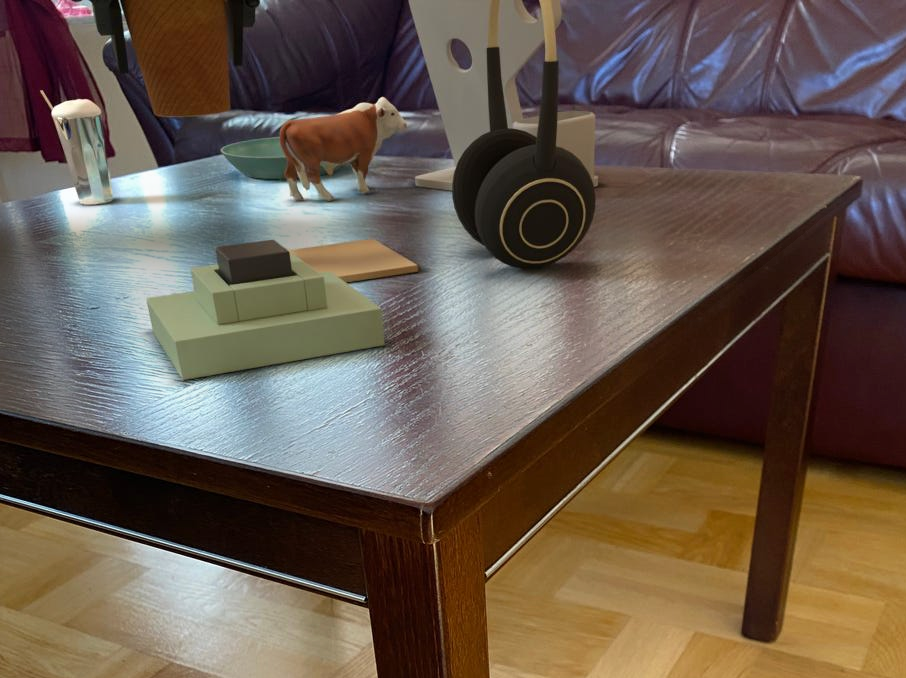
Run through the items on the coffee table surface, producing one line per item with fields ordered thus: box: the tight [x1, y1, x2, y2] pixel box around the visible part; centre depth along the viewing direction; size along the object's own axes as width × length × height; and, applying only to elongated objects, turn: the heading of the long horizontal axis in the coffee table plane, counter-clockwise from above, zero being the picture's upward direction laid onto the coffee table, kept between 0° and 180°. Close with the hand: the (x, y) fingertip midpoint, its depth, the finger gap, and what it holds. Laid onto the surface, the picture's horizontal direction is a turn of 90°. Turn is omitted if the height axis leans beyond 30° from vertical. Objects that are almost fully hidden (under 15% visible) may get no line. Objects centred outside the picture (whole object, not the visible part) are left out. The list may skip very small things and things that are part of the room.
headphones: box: [451, 0, 597, 270], centre depth 71 cm, size 9×15×20 cm, turn 14°
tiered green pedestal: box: [145, 254, 386, 381], centre depth 61 cm, size 10×12×4 cm
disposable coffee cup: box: [119, 0, 232, 118], centre depth 82 cm, size 10×10×12 cm
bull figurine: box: [278, 96, 408, 202], centre depth 99 cm, size 4×13×8 cm, turn 124°
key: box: [214, 239, 293, 286], centre depth 60 cm, size 4×4×2 cm
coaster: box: [287, 238, 419, 283], centre depth 77 cm, size 10×10×1 cm
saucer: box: [220, 136, 344, 180], centre depth 113 cm, size 15×15×3 cm
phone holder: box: [408, 0, 599, 192], centre depth 97 cm, size 17×10×18 cm, turn 49°
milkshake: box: [39, 89, 114, 206], centre depth 100 cm, size 5×5×10 cm
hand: (178, 55), depth 86 cm, fingers closed on disposable coffee cup, 9 cm apart
